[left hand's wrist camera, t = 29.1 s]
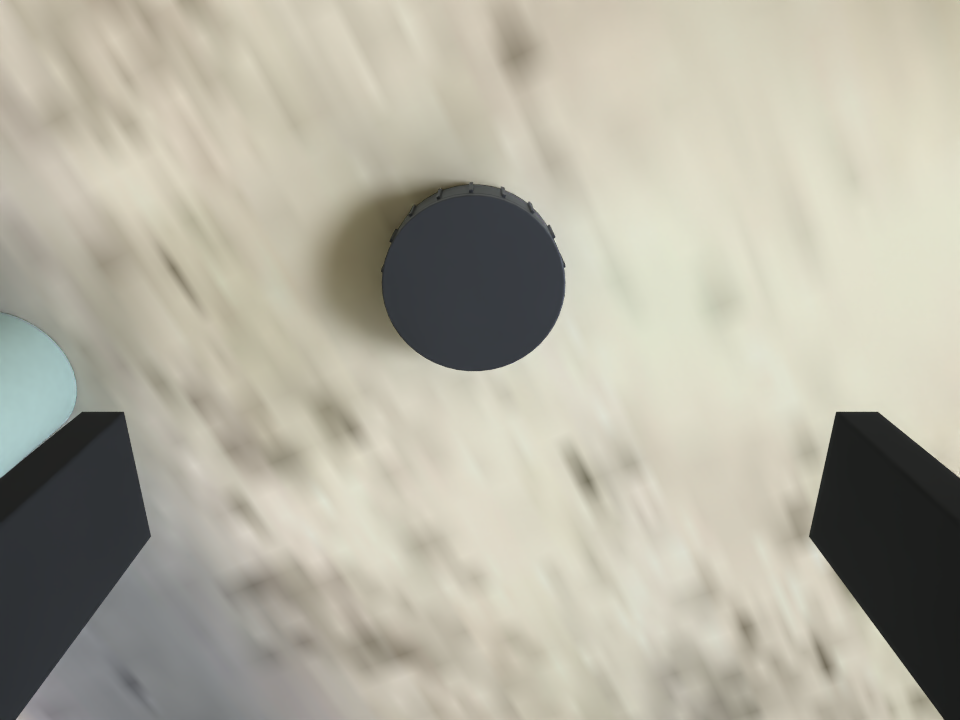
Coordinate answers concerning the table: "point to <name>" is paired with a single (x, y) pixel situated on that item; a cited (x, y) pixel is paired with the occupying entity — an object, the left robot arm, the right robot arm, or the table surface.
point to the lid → (473, 278)
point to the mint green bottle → (30, 389)
